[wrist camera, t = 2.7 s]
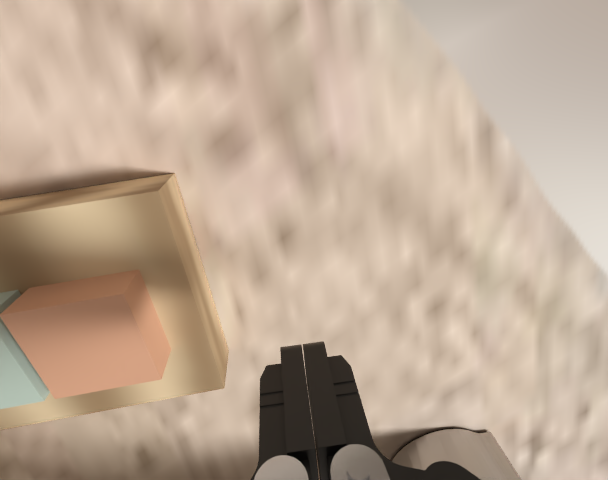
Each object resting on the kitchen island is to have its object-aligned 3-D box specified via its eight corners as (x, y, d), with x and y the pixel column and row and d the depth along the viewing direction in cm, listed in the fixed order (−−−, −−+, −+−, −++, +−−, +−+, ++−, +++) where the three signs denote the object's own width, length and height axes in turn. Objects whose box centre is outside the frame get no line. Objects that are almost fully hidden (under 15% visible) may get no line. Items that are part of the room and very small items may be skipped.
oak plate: (174, 173, 17) (158, 190, 14) (228, 350, 22) (224, 388, 20) (-95, 215, 16) (-165, 242, 14) (26, 387, 22) (-7, 431, 19)
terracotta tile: (139, 269, 16) (123, 293, 14) (171, 349, 18) (161, 379, 16) (29, 287, 16) (-1, 315, 14) (75, 366, 18) (55, 399, 16)
